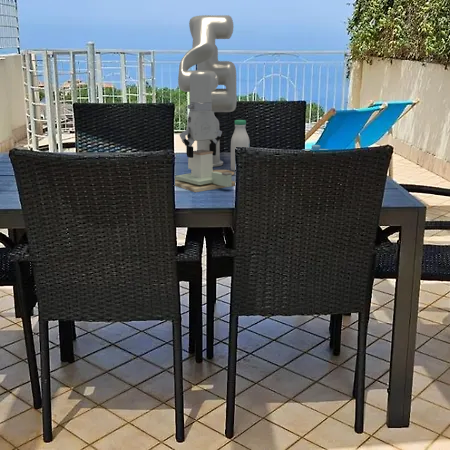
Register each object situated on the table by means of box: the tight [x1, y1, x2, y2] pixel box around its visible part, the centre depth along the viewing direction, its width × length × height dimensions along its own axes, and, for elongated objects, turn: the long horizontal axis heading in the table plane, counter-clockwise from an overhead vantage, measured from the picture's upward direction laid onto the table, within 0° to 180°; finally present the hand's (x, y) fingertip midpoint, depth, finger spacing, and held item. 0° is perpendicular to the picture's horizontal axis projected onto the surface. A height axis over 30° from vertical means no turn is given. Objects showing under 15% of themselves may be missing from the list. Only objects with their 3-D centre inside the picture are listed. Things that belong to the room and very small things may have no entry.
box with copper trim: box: [187, 149, 214, 178], centre depth 222 cm, size 6×8×9 cm
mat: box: [213, 169, 235, 176], centre depth 242 cm, size 12×12×1 cm
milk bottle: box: [230, 119, 251, 172], centre depth 247 cm, size 8×8×20 cm
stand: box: [174, 178, 236, 193], centre depth 223 cm, size 18×18×2 cm
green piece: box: [174, 172, 233, 188], centre depth 219 cm, size 14×22×5 cm, turn 42°
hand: (201, 156), depth 220 cm, fingers open, 9 cm apart
